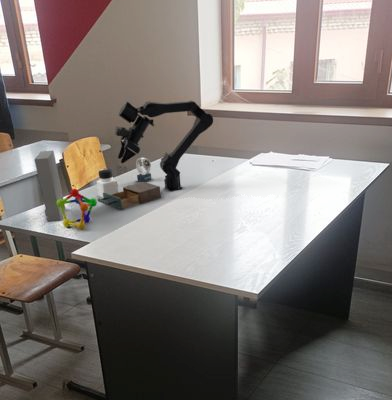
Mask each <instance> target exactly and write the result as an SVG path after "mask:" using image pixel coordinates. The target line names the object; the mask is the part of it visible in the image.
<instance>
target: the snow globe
mask: <svg viewBox="0 0 392 400" xmlns="http://www.w3.org/2000/svg"><path fill="white" fill-rule="evenodd" d="M140 162H141V164H140ZM141 166H142V167H143V168H142V167H141ZM151 167H152V162H151V160H149V159H148V158H146V157H144V156H143V157H139V158H137V159H136V161H135V168H136V170H137V172H138V174H136V178H137V183H140V182H146V183H148V182H151V181H152V173H150V172H151ZM143 169H144V170H145V171H146V172H144V171H143Z"/></svg>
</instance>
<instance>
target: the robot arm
mask: <svg viewBox="0 0 392 400" xmlns="http://www.w3.org/2000/svg"><path fill="white" fill-rule="evenodd" d="M184 112H191V114H192V115H193V116H194V117H195V119H194V122H193V125H192V126H191V128H190V130H189V131H188V132H187V133H186V134H185V135H184V137H183V138H182V140H181V141H180V142H179V143H178V145H176V147H175V148H174V150H173V151H172V152H171V153H168V152H166V153H164V155H163V157H162V158H160V160H161V161H160V162H159V168H160V169H161V171H163V173H165V174H166V175H164V189H165V190H167V191H169V192H173V191H176V190H177V191H178V190H181V189H183V186H181V185H182V183H181V171H180V170H179V169H177V167H178V165H179V162H180V160H181V158H182V157H183V156H184V154H185V153H186V152H187V151H188V150H189V149H190V147H191V146H192V144H193V143H194V142H195V141H196V140H197V138H198V137H199V136H200V135H201V134H203V133H204V132H205V131H207V130H208V129H209V128H210V127H211V126H212V125H213V124H214V117H213V115H212V114H210V113H209V112H206V111H205V110H203V109H202V108H201V107H200V106H199V105H198V103H197V102H195V101H194V100H188V101H175V102H158V101H151V100H149V101H145V103H144V104H143V105H142V106H138V107H137V108H136V107H135V106H133V104H131V103H130V101H129V102H128V101H126V102H125V104H123V106H122V107H121V108H120V110H119V112H118V116H119V117H120V118H121V119H123V120H125V121H126V122H127V123H129V124H131V123H133V124H132V126H130V127H129V128H126V127H123V126H118V125H117V126H115V130H114V135H115V136H117V137H119V142H120V148H119V153H118V155H117V158H118V159H121V160H120V163H121V164H124V163H126V162H128V161H129V160H130V159H132V158H133V157H135V156H137V155H139V153H140V151H141V148H140V146H139V145H140V144H139V143H140V141H141V140H142V139H143V138H144V136H145V135H144V134H145V133H146V131H147V129H148V128H149V126H150V125H151V126H152V127H155V121H154V119H153V118H157V117H159V116H163V115H164V114H172V113H173V114H174V113H184Z"/></svg>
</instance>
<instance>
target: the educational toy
mask: <svg viewBox="0 0 392 400" xmlns="http://www.w3.org/2000/svg"><path fill="white" fill-rule="evenodd" d="M72 197H73V198H74V199H71V198H72ZM72 203H76V204H77V205H79V210H81V216H80V218H77V219H73V220H70V219H69V218H67V215H66V210H65V211H64V208H63V206H64V205H65V206H66V204H72ZM97 204H98V200H96V198H94V197H93V198H88V197H86V196H85V195H82V194H81V193H80V192H79V190H78V189H77V188H72V189H71V190H70V194H68V195H67V196H66V197H65V198H63V200H62V199H59V200H58V201H57V206H59V207H61V210H62V214H63V216H62V218H63V221H62V225H63V227H65V228H69V227H71V226H73V227H77V229H78V230H80V231H83V230H85V229H86V224H87V223H88V224H89V222H90V220H91V217H90V214H91V212H92V209H93V207H96V206H97Z"/></svg>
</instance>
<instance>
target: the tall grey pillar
mask: <svg viewBox="0 0 392 400" xmlns="http://www.w3.org/2000/svg"><path fill="white" fill-rule="evenodd" d="M34 163H35V168H36V172H37V173H36V174H37V179H38V183H39V187H40V191H41V196H42V199H43V203H44V208H45V209H44V214H45V217H46V221H47V222H50V221H62V218H63V214H62V210H61V207H59V206H57V201H58V200H59V199H62V200H63V199H64V195H63V191H62V185H61V180H60V176H59V175H60V174H59V171H58V170H59V169H58V165H57V161H56V157H55V151H54V150H43V151H40V152H39V153H38V155H37V156H35V158H34ZM63 208H64V211H65V212H66V210H67V207H66V204H65V205H64V206H63Z"/></svg>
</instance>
